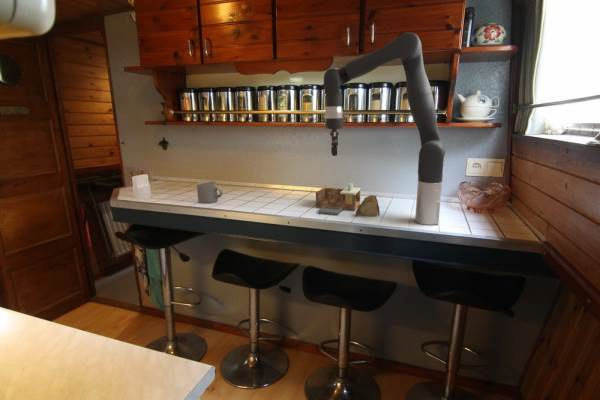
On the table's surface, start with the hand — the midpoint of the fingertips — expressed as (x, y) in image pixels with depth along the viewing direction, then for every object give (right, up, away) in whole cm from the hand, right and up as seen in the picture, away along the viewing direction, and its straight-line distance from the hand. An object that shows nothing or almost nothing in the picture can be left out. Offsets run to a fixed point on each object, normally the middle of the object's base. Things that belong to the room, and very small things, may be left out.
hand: (334, 154), depth 154 cm
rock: (+15, -27, 0) cm, 31 cm away
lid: (+9, -16, +12) cm, 22 cm away
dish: (-1, -26, +6) cm, 26 cm away
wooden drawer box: (+4, -23, +16) cm, 28 cm away
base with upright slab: (-104, -19, +40) cm, 113 cm away
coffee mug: (-62, -21, +27) cm, 71 cm away
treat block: (+9, -22, +13) cm, 27 cm away
